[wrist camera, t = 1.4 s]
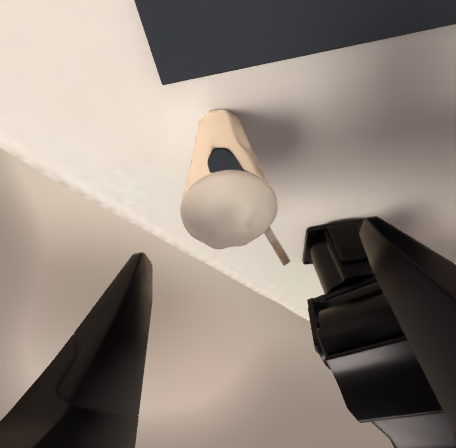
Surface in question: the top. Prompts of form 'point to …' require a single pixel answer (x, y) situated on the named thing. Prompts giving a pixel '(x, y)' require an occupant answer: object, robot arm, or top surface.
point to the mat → (272, 30)
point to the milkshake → (227, 188)
